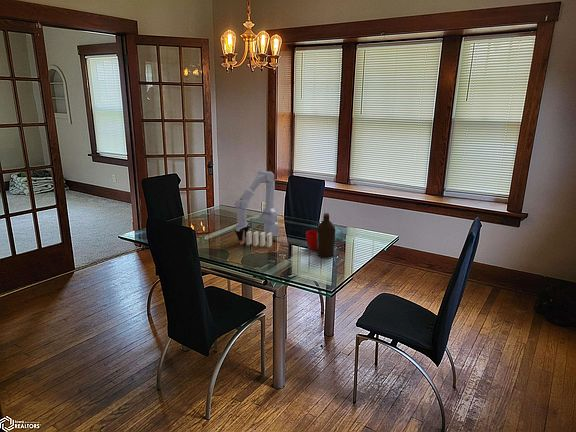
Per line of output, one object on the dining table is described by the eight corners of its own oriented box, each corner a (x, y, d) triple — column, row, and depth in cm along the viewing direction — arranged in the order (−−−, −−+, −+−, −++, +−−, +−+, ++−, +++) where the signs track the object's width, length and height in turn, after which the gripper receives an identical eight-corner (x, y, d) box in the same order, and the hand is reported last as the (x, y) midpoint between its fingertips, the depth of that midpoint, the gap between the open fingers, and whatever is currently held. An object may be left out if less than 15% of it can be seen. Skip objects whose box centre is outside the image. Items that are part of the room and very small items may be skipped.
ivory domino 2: (258, 243, 257) (258, 231, 255) (255, 246, 252) (255, 233, 250) (256, 243, 257) (255, 231, 255) (253, 245, 253) (253, 233, 251)
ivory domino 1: (251, 242, 258) (251, 230, 256) (248, 245, 254) (248, 233, 252) (249, 242, 259) (249, 230, 257) (246, 245, 254) (246, 232, 252)
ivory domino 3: (265, 244, 256) (265, 232, 254) (262, 246, 251) (262, 234, 249) (262, 243, 256) (262, 231, 254) (260, 246, 252) (259, 234, 249)
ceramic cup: (321, 242, 258) (321, 227, 256) (329, 251, 242) (330, 235, 240) (301, 244, 256) (302, 229, 253) (308, 253, 240) (309, 237, 237)
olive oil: (335, 253, 239) (337, 212, 233) (333, 259, 230) (334, 216, 223) (318, 251, 242) (319, 210, 236) (314, 257, 232) (315, 215, 226)
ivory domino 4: (272, 244, 254) (271, 232, 252) (269, 247, 250) (269, 234, 248) (269, 244, 255) (269, 232, 253) (266, 247, 250) (266, 234, 248)
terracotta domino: (245, 242, 260) (244, 230, 257) (242, 244, 255) (241, 232, 253) (242, 242, 260) (242, 230, 258) (239, 244, 255) (239, 232, 253)
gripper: (240, 215, 261) (241, 235, 265) (231, 220, 248) (231, 241, 251) (250, 215, 259) (251, 236, 263) (241, 221, 246) (242, 243, 249)
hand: (242, 239), depth 257 cm, fingers open, 6 cm apart
